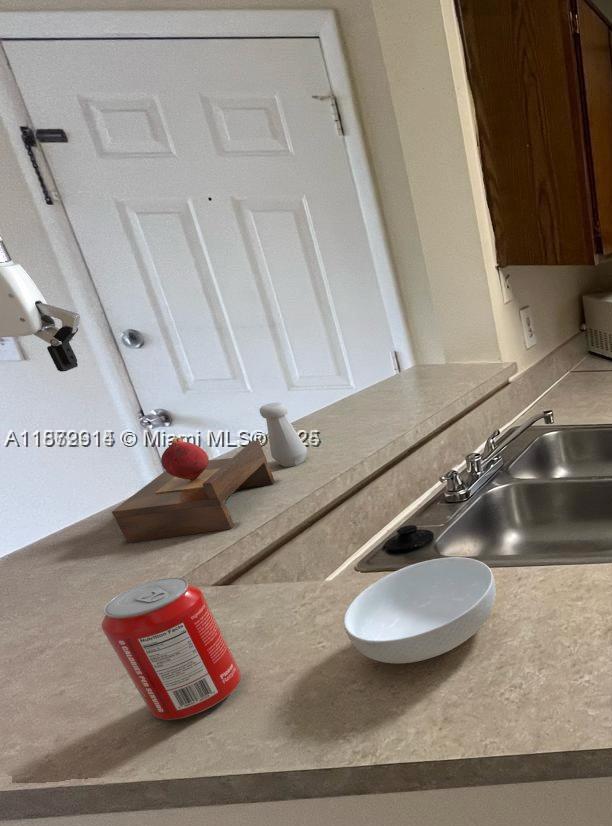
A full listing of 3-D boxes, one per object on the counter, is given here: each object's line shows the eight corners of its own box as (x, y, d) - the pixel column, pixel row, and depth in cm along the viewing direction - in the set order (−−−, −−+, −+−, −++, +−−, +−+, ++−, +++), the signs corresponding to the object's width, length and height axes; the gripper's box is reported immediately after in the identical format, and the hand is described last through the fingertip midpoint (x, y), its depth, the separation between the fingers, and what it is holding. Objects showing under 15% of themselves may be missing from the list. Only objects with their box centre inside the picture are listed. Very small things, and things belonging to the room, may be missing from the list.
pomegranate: (212, 481, 107) (194, 440, 104) (168, 490, 104) (148, 448, 101) (217, 469, 112) (200, 429, 108) (175, 477, 109) (156, 436, 105)
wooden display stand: (127, 543, 101) (102, 495, 97) (186, 492, 116) (167, 449, 112) (231, 528, 105) (211, 482, 101) (275, 481, 120) (259, 440, 117)
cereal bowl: (450, 583, 92) (439, 544, 89) (530, 617, 85) (521, 575, 82) (329, 657, 78) (312, 613, 75) (413, 704, 71) (398, 658, 68)
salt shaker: (290, 455, 131) (269, 399, 125) (317, 456, 131) (297, 399, 125) (268, 468, 125) (245, 409, 120) (295, 468, 125) (273, 410, 120)
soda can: (192, 730, 68) (134, 624, 62) (135, 719, 69) (71, 614, 63) (261, 677, 75) (214, 577, 69) (207, 668, 76) (157, 569, 70)
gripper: (-145, 261, 81) (-73, 383, 88) (28, 258, 86) (83, 374, 93) (-92, 253, 87) (-28, 368, 94) (66, 251, 92) (115, 360, 99)
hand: (27, 371), depth 93 cm, fingers open, 9 cm apart
